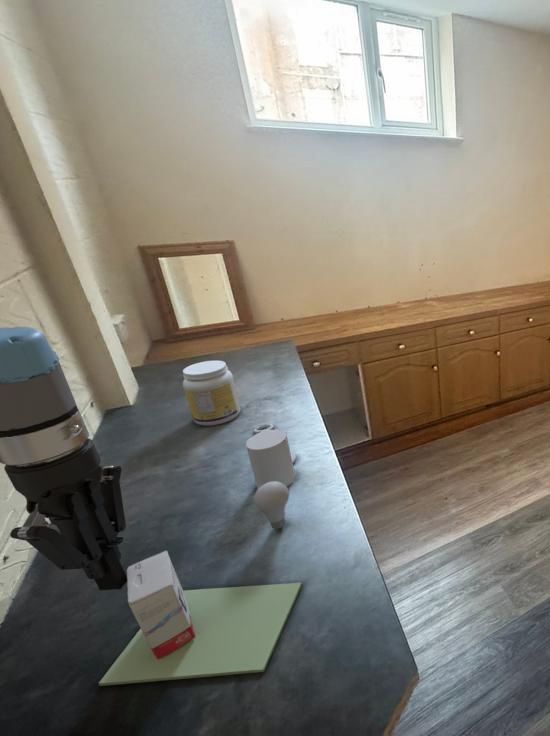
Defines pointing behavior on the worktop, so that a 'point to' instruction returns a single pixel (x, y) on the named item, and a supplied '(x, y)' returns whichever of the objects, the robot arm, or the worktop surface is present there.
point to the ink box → (159, 604)
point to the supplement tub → (211, 393)
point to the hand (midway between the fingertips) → (114, 584)
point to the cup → (271, 457)
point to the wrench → (257, 430)
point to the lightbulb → (272, 502)
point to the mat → (214, 636)
